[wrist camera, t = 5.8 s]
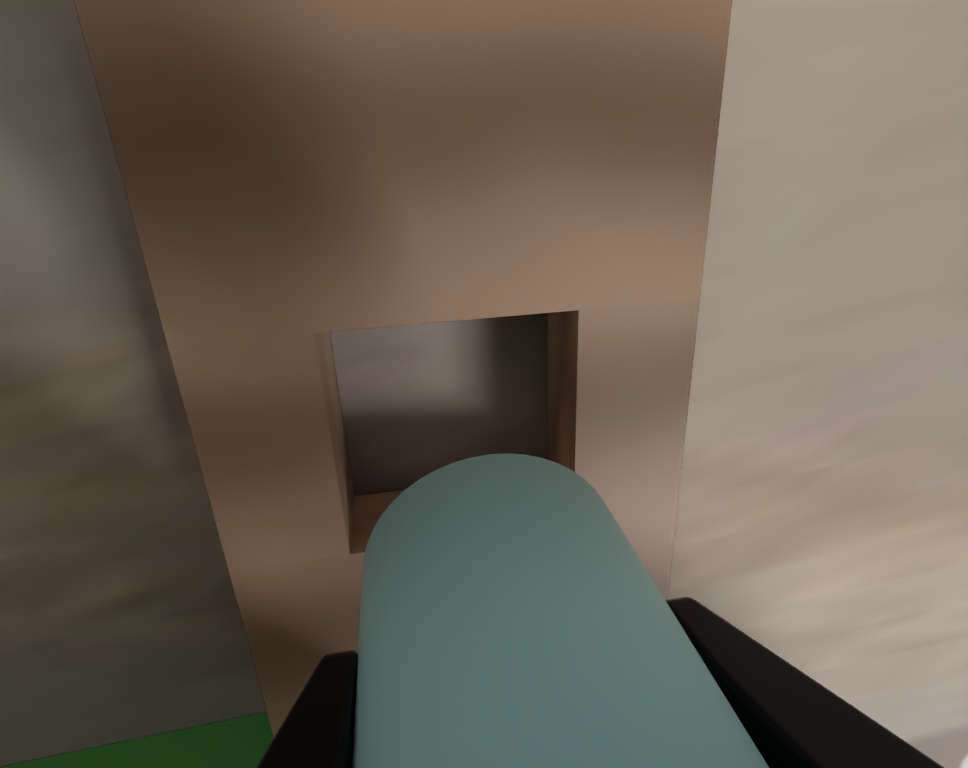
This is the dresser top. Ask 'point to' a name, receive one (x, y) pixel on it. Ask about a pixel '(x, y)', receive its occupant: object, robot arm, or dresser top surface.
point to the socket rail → (410, 246)
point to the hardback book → (176, 748)
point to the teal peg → (525, 635)
